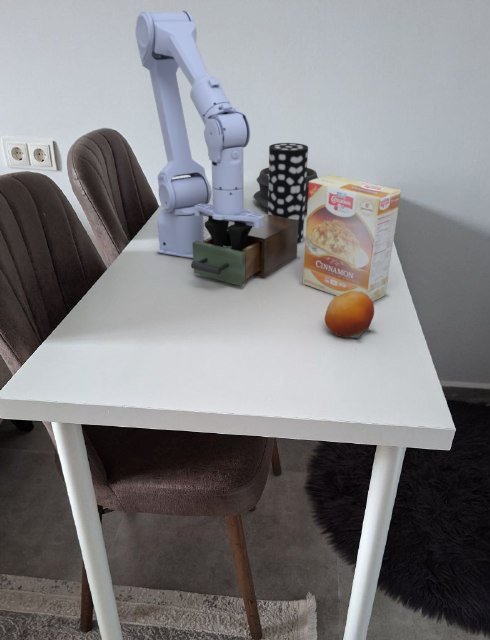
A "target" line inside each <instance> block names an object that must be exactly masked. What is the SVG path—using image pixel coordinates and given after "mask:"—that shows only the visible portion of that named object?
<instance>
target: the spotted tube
mask: <svg viewBox="0 0 490 640" xmlns="http://www.w3.org/2000/svg"><path fill="white" fill-rule="evenodd" d="M308 157H309V146H308V145H306V144H304V143H303V144H302V143H298V142H297V143H296V142H277V143H273V144H271V145H269V147H268V167H269V183H268V208H267V214H268V215H273V216H279V217H284V218H289V219H294V220H299V223H298V241H297V244H299V243H302V242H303V240H304V230H305V229H304V227H305V211H306V210H305V194H306V177H307V168H308V160H309V159H308Z"/></svg>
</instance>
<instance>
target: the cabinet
mask: <svg viewBox="0 0 490 640" xmlns="http://www.w3.org/2000/svg"><path fill="white" fill-rule="evenodd" d="M250 211H251V212H253V213H256V214H259V215H263V216H264V226H263V227H261V228H259V229H257V228H254V226H253V227H252V229H251V230H250V232H249V234H248V236H247V239H250V240H254V241H259V242H262V243H261V270H260V271H259V272H257V273H255V274H254V275H252V276H251V277H255V278H260V279H266V278H268V277H269V276H271V275H272V274H274V273H276V272H277V271H279V270H280V269H282V268H284V267H285V266H286V265H288V264H289V263H291V262H293V261H294V260H296V259H297V258H298V243H297V241H298V223H299V220H294V219H289V218H284V217H279V216H273V215H268V213H263V212H257V211H253V210H250ZM231 225H234V222H230V221H229V224H228V227H229V226H231ZM227 235H229V232H228V230H227Z"/></svg>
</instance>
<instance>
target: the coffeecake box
mask: <svg viewBox="0 0 490 640" xmlns="http://www.w3.org/2000/svg"><path fill="white" fill-rule="evenodd" d="M401 192H402V189H397V188H396V189H395V188H391V187H388V186H382V185H378V184H374V183H369V182H365V181H361V180H356V179H351V178H347V177H343V176H339V175H334V174H330V175H326V176H322V177H318V178H317V179H313V180H311V181H309V190H308V206H307V209H306V225H305V239H304V241H305V242H304V255H303V256H304V258H303V271H302V272H303V274H302V285H305V286H308V287H310V288H314V289H317V290H319V291H322V292H325V293H327V294H331V295H333V296H335V297H336V296H340V295H342V294H344V293H346V292H349V291H357V292H363V293H365V294H367V295H368V296H369V298H370V299H371V300H372V302H373V303H374V302H375V301H378V300H379V299H382V298H383V297H385V296H386V292H387V286H388V280H389V273H390V267H391V260H392V254H393V253H392V252H393V247H394V240H395V233H396V227H397V221H398V213H399V206H400V200H401Z"/></svg>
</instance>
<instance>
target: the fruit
mask: <svg viewBox="0 0 490 640" xmlns="http://www.w3.org/2000/svg"><path fill="white" fill-rule="evenodd" d="M374 305H375V304H374V301H373V302H372V300H371V299H370V298H369V296H368V295H367V294H365V293H363V292H357V291H349V292H346V293H344V294H342V295H340V296H336V295H335V296H334V297H333V298H332V299H330V302H329V303H328V305H327V308H326V311H325V314H324V323H325V325H326V327H327V328H328V329H329V330H330V331H331V333H332V334H334V335H336V336H338V337H341V338H356V339H358V340H359V339H360V337H361V335H362V334H363V333H364V332H365V331H369V332H372V330H371V329H369V328H370V326H371V324H372V321H373V318H374V316H375V306H374Z"/></svg>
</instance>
